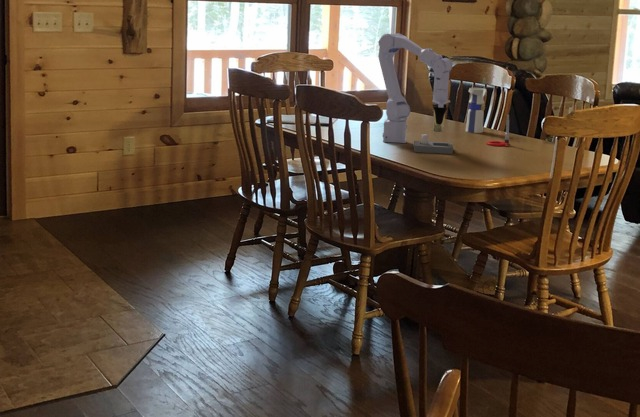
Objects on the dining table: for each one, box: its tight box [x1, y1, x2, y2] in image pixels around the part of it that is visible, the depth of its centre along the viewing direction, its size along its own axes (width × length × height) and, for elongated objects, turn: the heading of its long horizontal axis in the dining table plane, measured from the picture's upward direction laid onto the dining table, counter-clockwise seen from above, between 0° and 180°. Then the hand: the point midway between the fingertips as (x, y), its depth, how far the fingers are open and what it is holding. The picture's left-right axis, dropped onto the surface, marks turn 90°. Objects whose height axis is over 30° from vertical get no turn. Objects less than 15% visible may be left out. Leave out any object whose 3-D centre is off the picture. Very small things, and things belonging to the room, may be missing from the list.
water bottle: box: [465, 76, 488, 134], centre depth 389 cm, size 8×9×25 cm
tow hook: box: [485, 114, 510, 147], centre depth 360 cm, size 8×13×9 cm
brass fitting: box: [432, 110, 446, 133], centre depth 346 cm, size 4×4×9 cm
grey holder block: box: [413, 134, 454, 155], centre depth 343 cm, size 15×11×6 cm
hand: (438, 123), depth 347 cm, fingers closed on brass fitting, 4 cm apart
